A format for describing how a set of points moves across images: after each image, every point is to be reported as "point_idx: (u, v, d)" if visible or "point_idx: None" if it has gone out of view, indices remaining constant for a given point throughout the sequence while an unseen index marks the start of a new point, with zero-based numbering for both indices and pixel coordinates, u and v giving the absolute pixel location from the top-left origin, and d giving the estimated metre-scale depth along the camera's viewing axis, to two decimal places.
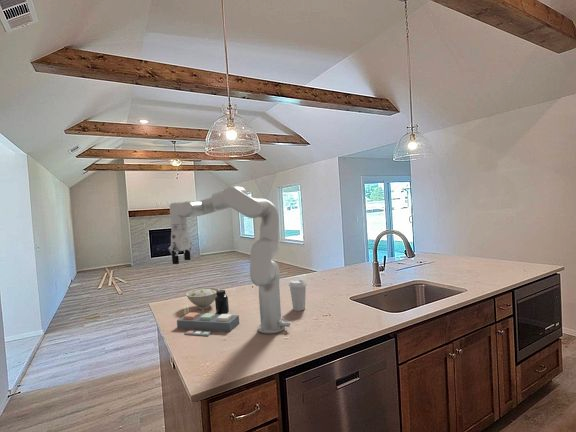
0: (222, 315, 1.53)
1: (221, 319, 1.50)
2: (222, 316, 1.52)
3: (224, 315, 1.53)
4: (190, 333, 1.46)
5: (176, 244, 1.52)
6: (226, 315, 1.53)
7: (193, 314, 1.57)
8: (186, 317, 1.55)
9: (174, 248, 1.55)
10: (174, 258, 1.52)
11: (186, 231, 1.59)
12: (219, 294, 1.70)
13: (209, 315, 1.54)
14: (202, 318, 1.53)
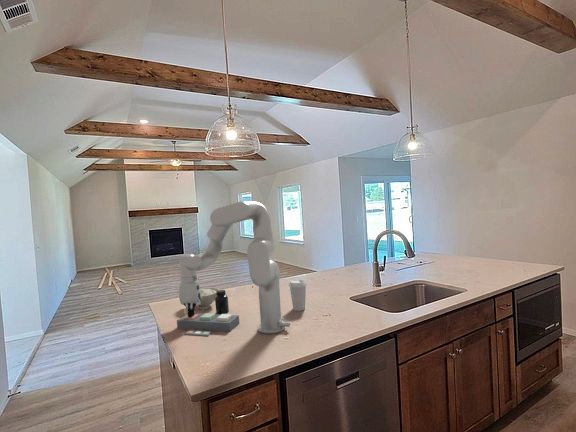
0: (222, 315, 1.53)
1: (221, 319, 1.50)
2: (222, 316, 1.52)
3: (224, 315, 1.53)
4: (190, 333, 1.46)
5: (200, 294, 1.57)
6: (226, 315, 1.53)
7: (193, 316, 1.57)
8: None
9: None
10: (193, 310, 1.57)
11: None
12: (219, 294, 1.70)
13: (209, 315, 1.54)
14: (202, 318, 1.53)
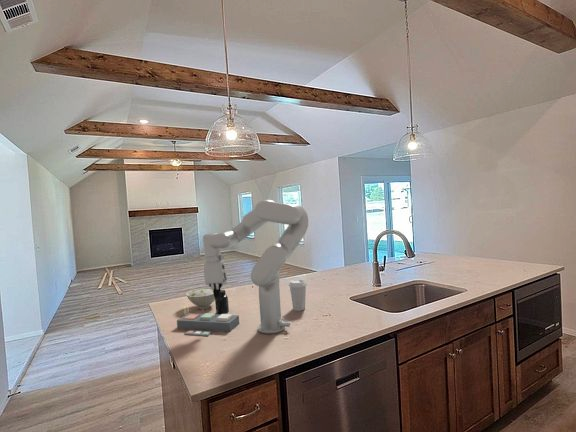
0: (222, 315, 1.53)
1: (221, 319, 1.50)
2: (222, 316, 1.52)
3: (224, 315, 1.53)
4: (190, 333, 1.46)
5: (225, 274, 1.52)
6: (226, 315, 1.53)
7: (193, 316, 1.57)
8: None
9: None
10: (219, 291, 1.52)
11: None
12: None
13: (209, 315, 1.54)
14: (202, 318, 1.53)
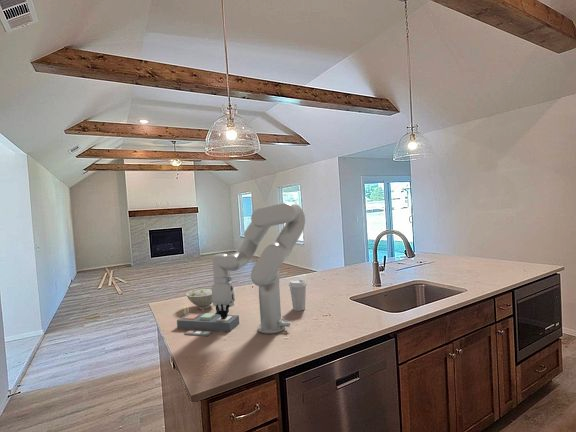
0: None
1: None
2: None
3: None
4: (190, 333, 1.46)
5: (233, 295, 1.52)
6: None
7: (193, 316, 1.57)
8: None
9: None
10: (226, 312, 1.52)
11: None
12: None
13: (209, 315, 1.54)
14: (202, 318, 1.53)
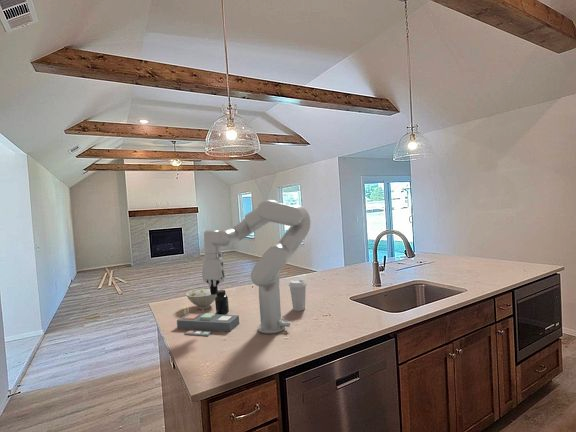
0: (222, 317, 1.53)
1: None
2: (222, 318, 1.52)
3: (224, 317, 1.53)
4: (190, 333, 1.46)
5: (224, 271, 1.52)
6: (226, 317, 1.53)
7: (193, 316, 1.57)
8: None
9: None
10: (216, 288, 1.53)
11: None
12: (219, 294, 1.70)
13: (209, 315, 1.54)
14: (202, 318, 1.53)
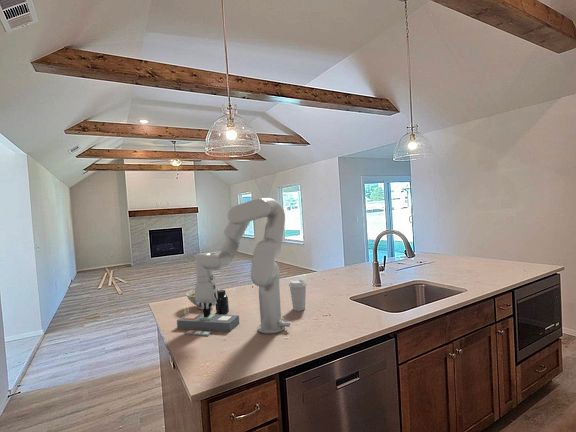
0: (222, 317, 1.53)
1: None
2: (222, 318, 1.52)
3: (224, 317, 1.53)
4: (190, 333, 1.46)
5: (216, 294, 1.54)
6: (226, 317, 1.53)
7: (193, 316, 1.57)
8: None
9: None
10: (209, 310, 1.54)
11: None
12: (219, 294, 1.70)
13: (209, 316, 1.54)
14: (202, 319, 1.53)
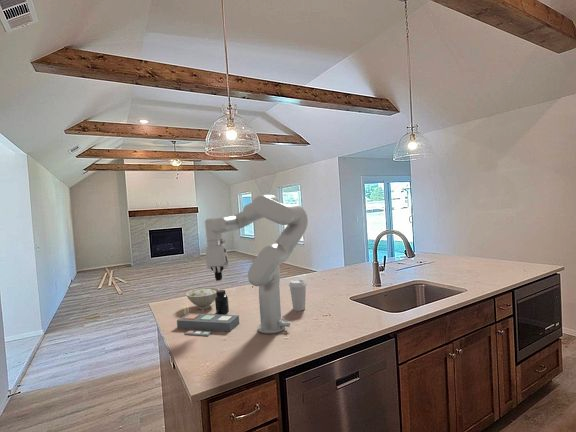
0: (222, 317, 1.53)
1: None
2: (222, 318, 1.52)
3: (224, 317, 1.53)
4: (190, 333, 1.46)
5: (227, 257, 1.57)
6: (226, 317, 1.53)
7: (193, 316, 1.57)
8: None
9: None
10: (221, 274, 1.57)
11: None
12: (219, 294, 1.70)
13: (209, 317, 1.54)
14: None
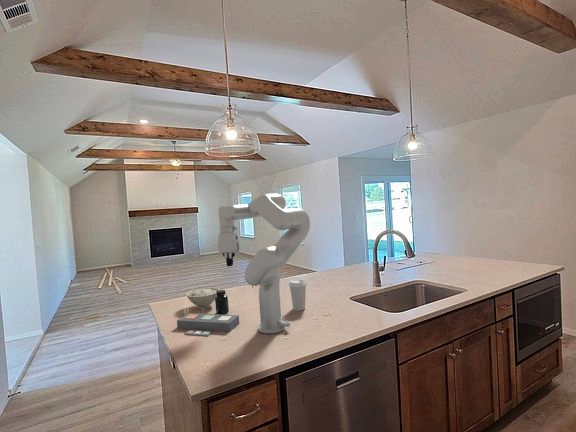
0: (222, 317, 1.53)
1: None
2: (222, 318, 1.52)
3: (224, 317, 1.53)
4: (190, 333, 1.46)
5: (238, 244, 1.61)
6: (226, 317, 1.53)
7: (193, 316, 1.57)
8: None
9: None
10: (232, 260, 1.62)
11: None
12: (219, 294, 1.70)
13: (209, 317, 1.54)
14: None
